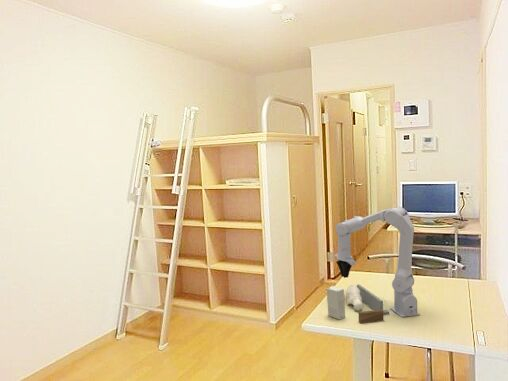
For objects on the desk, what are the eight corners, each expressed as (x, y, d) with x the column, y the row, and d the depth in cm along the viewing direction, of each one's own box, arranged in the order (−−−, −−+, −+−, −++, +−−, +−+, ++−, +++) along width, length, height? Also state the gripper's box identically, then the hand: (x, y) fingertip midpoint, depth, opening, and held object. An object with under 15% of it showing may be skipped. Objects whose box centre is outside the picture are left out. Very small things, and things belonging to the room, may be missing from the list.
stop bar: (383, 320, 160) (383, 310, 160) (360, 323, 158) (360, 313, 158) (381, 318, 162) (381, 309, 161) (358, 321, 160) (358, 312, 160)
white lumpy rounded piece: (358, 283, 180) (367, 295, 168) (358, 300, 182) (366, 313, 170) (344, 284, 180) (352, 295, 168) (344, 301, 181) (352, 314, 170)
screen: (389, 314, 166) (389, 300, 166) (380, 315, 165) (379, 301, 165) (365, 296, 188) (365, 283, 187) (356, 297, 187) (356, 284, 186)
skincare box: (345, 317, 165) (345, 288, 164) (338, 320, 162) (338, 291, 161) (333, 312, 170) (333, 285, 169) (326, 315, 167) (326, 287, 166)
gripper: (360, 250, 178) (361, 279, 179) (343, 243, 192) (343, 271, 193) (347, 252, 176) (347, 282, 177) (330, 245, 189) (330, 273, 191)
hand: (344, 276), depth 185 cm, fingers closed
